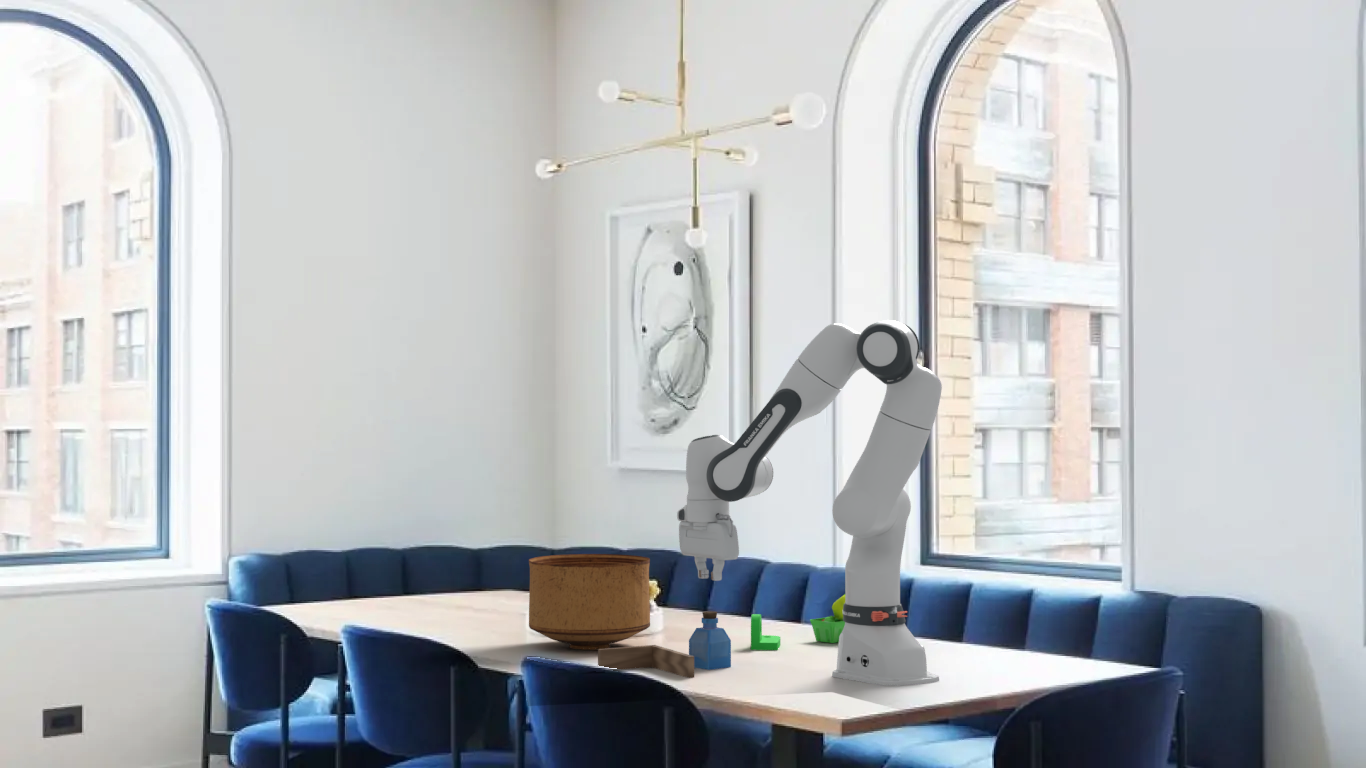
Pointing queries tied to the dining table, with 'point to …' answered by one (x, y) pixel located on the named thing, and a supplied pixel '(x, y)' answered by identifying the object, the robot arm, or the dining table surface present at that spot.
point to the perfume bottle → (710, 644)
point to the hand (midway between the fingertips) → (709, 579)
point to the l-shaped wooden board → (647, 659)
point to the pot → (589, 598)
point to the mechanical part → (762, 636)
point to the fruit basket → (830, 624)
